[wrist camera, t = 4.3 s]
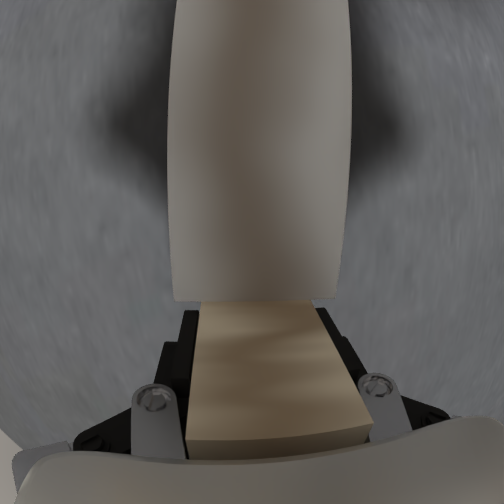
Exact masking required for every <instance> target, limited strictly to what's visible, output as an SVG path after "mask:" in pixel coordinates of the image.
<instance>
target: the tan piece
mask: <svg viewBox="0 0 504 504" xmlns="http://www.w3.org/2000/svg"><path fill="white" fill-rule="evenodd" d="M351 121H352V64H351V38H350V21H349V8H348V0H177V5H176V13H175V22H174V31H173V41H172V53H171V66H170V81H169V101H168V136H167V181H168V217H169V238H170V255H171V269H172V282H173V293H174V301H190V302H201V308H200V315H199V323H198V330H197V338H196V346H195V354H194V362H193V370H192V379H191V388H190V397H189V406H188V416H187V427H186V438H185V440H186V444H187V448H188V452H189V456H190V460H248V459H265V458H277V457H287V456H296V455H304V454H311V453H318V452H324V451H330V450H336V449H341V448H346V447H351V446H356V445H360V444H364V442H365V440H366V438H367V436H368V434H369V432H370V430H371V428H372V426H373V424H374V422H373V420H372V418H371V416H370V414H369V412H368V410H367V408H366V406H365V404H364V402H363V400H362V398H361V396H360V394H359V392H358V390H357V388H356V386H355V384H354V382H353V380H352V378H351V376H350V374H349V372H348V370H347V368H346V366H345V365H344V363H343V361H342V359H341V357H340V355H339V353H338V351H337V349H336V347H335V345H334V343H333V342H332V340H331V338H330V336H329V334H328V332H327V330H326V328H325V326H324V325H323V323H322V321H321V319H320V317H319V315H318V313H317V311H316V310H315V308H314V306H313V304H312V302H311V300H315V299H335V296H336V289H337V283H338V276H339V269H340V261H341V253H342V245H343V236H344V227H345V217H346V207H347V195H348V182H349V168H350V149H351Z"/></svg>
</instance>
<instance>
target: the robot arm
mask: <svg viewBox="0 0 504 504" xmlns="http://www.w3.org/2000/svg"><path fill="white" fill-rule="evenodd" d="M315 310H316V311H317V313H318V315H319V317H320V319H321V321H322V323H323V325H324V326H325V328H326V330H327V332H328V334H329V336H330V338H331V340H332V342H333V343H334V345H335V347H336V349H337V351H338V353H339V355H340V357H341V359H342V361H343V363H344V365H345V366H346V368H347V370H348V372H349V374H350V376H351V378H352V380H353V382H354V384H355V386H356V388H357V390H358V392H359V394H360V396H361V398H362V400H363V402H364V404H365V406H366V408H367V410H368V412H369V414H370V416H371V418H372V420H373V422H374V424H373V426H372V428H371V430H370V432H369V434H368V436H367V438H366V440H365V442H364V444H360V445H356V446H351V447H346V448H341V449H336V450H330V451H324V452H318V453H311V454H304V455H296V456H287V457H277V458H265V459H248V460H190V458H189V452H188V448H187V444H186V440H185V438H186V427H187V416H188V406H189V397H190V388H191V379H192V370H193V362H194V354H195V346H196V338H197V330H198V323H199V315H200V314H199V311H198V310H185V311H184V315H183V320H182V324H181V329H180V333H179V338H178V342H167V341H166V342H165V343H164V346H163V349H162V353H161V357H160V361H159V364H158V368H157V372H156V376H155V380H154V384H148V385H145V386H142V387H140V388H139V389H138V390H136V391H135V393H134V394H133V397H132V406H131V408H129V409H127V410H125V411H123V412H122V413H120V414H118V415H116V416H114V417H112V418H110V419H108V420H106V421H104V422H102V423H100V424H98V425H96V426H93V427H91V428H89V429H87V430H85V431H83V432H82V433H80V434H79V435H78V436H77V437H76V438H75V440H74V442H72V443H68V442H67V441H63V442H59V443H55V444H51V445H46V446H42V447H37V448H32V449H27V450H23V451H20V452H18V453H17V454H16V455H15V456H14V458H13V460H12V470H13V475H14V481H15V485H16V490H17V497H16V500H15V502H14V504H504V425H503V424H502V423H500V422H499V421H498V420H496V419H494V418H491V417H487V416H466V417H461V416H454V415H453V416H452V418H450V417H449V415H448V414H447V413H446V412H444V411H443V410H441V409H439V408H436V407H433V406H430V405H427V404H424V403H421V402H418V401H415V400H412V399H410V398H407V397H404V396H401V395H400V393H399V391H398V388H397V385H396V383H395V382H394V380H392V379H391V378H390V377H388V376H386V375H384V374H381V373H367V371H366V369H365V368H364V366H363V364H362V363H361V361H360V359H359V358H358V356H357V354H356V352H355V351H354V349H353V347H352V346H351V344H350V342H349V341H348V339H347V338H346V337H344V336H341V334H340V332H339V331H338V329H337V327H336V326H335V324H334V322H333V320H332V319H331V317H330V315H329V314H328V312H327V310H326V309H325V308H315Z"/></svg>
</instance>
